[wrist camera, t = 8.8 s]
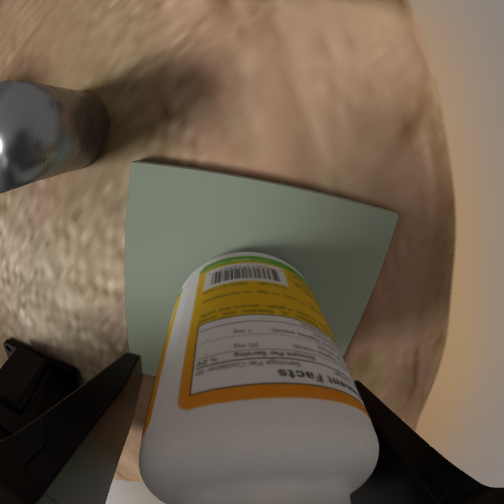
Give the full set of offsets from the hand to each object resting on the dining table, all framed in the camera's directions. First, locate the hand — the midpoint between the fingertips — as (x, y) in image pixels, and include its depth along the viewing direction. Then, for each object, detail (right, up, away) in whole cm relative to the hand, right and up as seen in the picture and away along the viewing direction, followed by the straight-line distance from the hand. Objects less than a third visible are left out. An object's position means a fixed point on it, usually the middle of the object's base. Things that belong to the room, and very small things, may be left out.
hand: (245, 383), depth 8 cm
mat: (0, +2, +4) cm, 4 cm away
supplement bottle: (0, +2, +4) cm, 4 cm away
